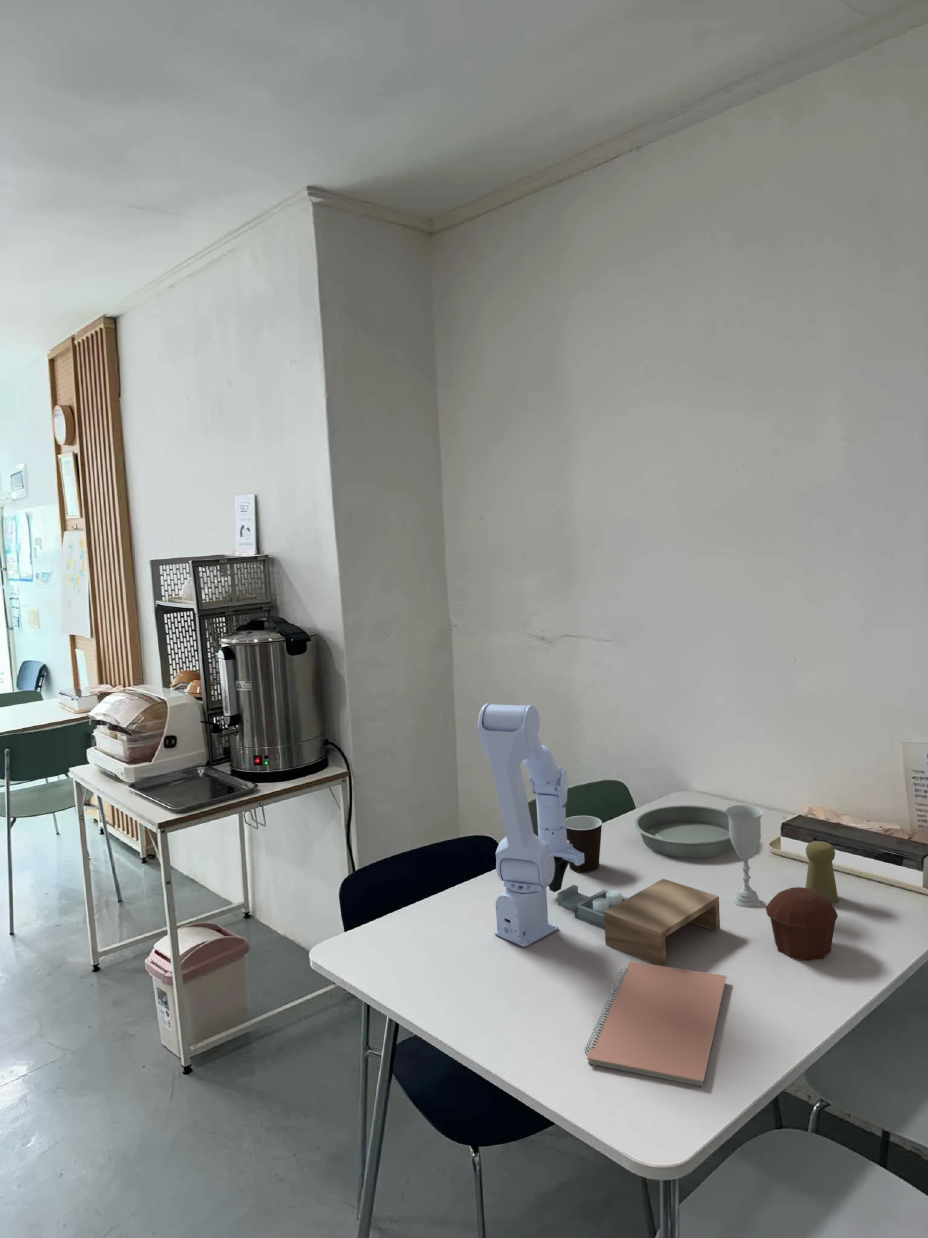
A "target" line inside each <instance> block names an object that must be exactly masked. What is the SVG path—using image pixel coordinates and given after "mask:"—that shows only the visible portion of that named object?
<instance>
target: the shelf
mask: <svg viewBox="0 0 928 1238" xmlns="http://www.w3.org/2000/svg"><path fill="white" fill-rule="evenodd" d="M604 922H605V929H604V936H605V937H604V938H605V939H604V940H605V941H604V942H605V945H606V946H607V947H611V948H612V949H615V950H618V951H620V952H623V953H625V954H627V955H630V956H632V957H635V958H637V959H640V960H642V961H645V962H646V963H650V964H651V965H658V966H665V967H667V949H666V948H667V946H666V943H667V942H666V937H667V936H669V935H671V934H673V933H674V932H675V931H677V930H678V929H680V928H681V927H684V926H685V925H687V924H688V923H692V924H695V925H697V926H701V927H704V928H706V929H708V930H709V929H710V930H712V931H715V932H717V931H719V930H720V929H721V917H720V896H719V895H716V894H714V893H713V894H712V893H710V892H706V891H705V890H704V891H703V890H701V889H697V888H694V887H690V886H687V885H685V884H683V883H682V884H681V883H679V882H675V881H672V880H668V879H666V878H661V879H660V880H658V881H656V882H654V883H653V884H651V885H649V886H647V887H646V888H644V889H642V890H640V891H638V892H636V893H635V894H633V895H631V896H629V897H627V899H626V900H624V901H622V902H620V903H619V904H617V905H615V906H613V907H611V908H610V909H608V910H606V911H604Z"/></svg>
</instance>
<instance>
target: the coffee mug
mask: <svg viewBox="0 0 928 1238" xmlns="http://www.w3.org/2000/svg"><path fill="white" fill-rule="evenodd" d="M602 826H603V821H602V819H600V818H598V817H595V816H592V815H575V816H570V817H566V830H567V841H569V845H570V846H571V847H573V848H574V849H576V850H577V851H579V852H581V853H584V863H583V864H581V865H579V866H577V865H575V864H574V862H571V861H570V862H569V864H568V866H569V869H570V870H571V871H573V872H576V873H585V874H586V873H592V872H595V871H597V870H598V869H599V867H600V856H601V843H602V842H601V839H602Z"/></svg>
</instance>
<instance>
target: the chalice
mask: <svg viewBox="0 0 928 1238" xmlns="http://www.w3.org/2000/svg"><path fill="white" fill-rule="evenodd" d="M725 811H726V813H727V815H728V817H729V836H730V839H731V842H732V845H733V847H734V849H733V850H735V852H736V854H737V856H738V857H739V858H740V859H742V862H743V864H742V867H741V869H742V871H743V874H742V875H741V878H742V880H743V885H742V886H741V887H739V888H738V889H737V890H736V893H735V895H734V897H733V903H734V904H736V905H738V906H740V907H743V908H754V907H758V906H759V905H761V900H760V898H759V895H758V894H757V893H758V892H757V891H756V890H755V888H753V887H751V886H750V883H749V882H750V880H751V875H750V874H749V872H750V870H751V867H750V866H749V859H752V858H754V855H755V854H756V852H757V850H758V847H759V844H760V842H761V839H762V836H761V835H762V834H761V833H762V830H761V827H762V825H761V823H762V822H761V818H762V816H763V814H764V812H763V810H762V809H761V808H759V807H756V806H753V805H745V804H740V805H739V804H738V805H737V804H735V805H732V806H729V807H727V808H726V809H725Z"/></svg>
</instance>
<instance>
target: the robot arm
mask: <svg viewBox="0 0 928 1238" xmlns="http://www.w3.org/2000/svg"><path fill="white" fill-rule="evenodd" d="M539 713H540V712H539V711H538V709H537V707H536V706H535V705H534V704H528V705H520V704H519V705H517V704H516V705H515V704H494V703H493V704H492V703H491V702H490V703H489V702H487V703H484V705H483V706H482V707H481V709H480V710H479V713H478V718H477V719H478V720H477V726H476V727H477V733H478V737H479V742H480V745H481V749H482V750H481V751H482V753H483V755H485V757H486V758H488V759H489V762H490V763H489V764H490V769H491V772H492V777H493V783H494V786H495V792H496V796H497V801H498V804H499V806H498V807H499V809H500V813H501V819H502V823H503V828H504V833H505V837H503V838H502V839H501V841H500V842H499V843H498V845H497V848H496V851H495V858H496V859H495V860H496V861H495V862H496V863H495V864H496V865H495V871H496V874H497V876H498V879H499V880H500V881H501V882H503V886H504V887H503V888H506V889H504V891H503V893H501V894H500V895H499V896H498V897H497V899H496V900H495V917H496V929H495V930H494V932H493V933H494V935H495V936H496V935H497V936H498V937H500V938H503V939H505V940H507V941H508V942H509V941H510V942H512V943H514V944H516V945H518V946H521V947H523V948H526V947H529V946H530V945H531V944H533V943H535V942H537V941H539V940H540V939H542V938H544V937H546V936H548V935H549V934H552V933H553V932H556V931H558V929H559V926H558V924H554V923H553V922H549V913H548V912H549V909H548V898H547V897H548V896H547V895H548V894H547V887H548V888H549V891H550V892H553V893H556V892H559V891H561V890H562V885H563V880H564V876H565V873H566V870H567V868H568V866H569V862H570V861H571V862H574V864H575V865H577V866H579V865H581V864H583V863H584V853H581V852H579V851H577V850H576V849H574V848H573V847H571V846H570V845H569V841H567V830H566V819H567V815H566V803H567V801H568V789H569V775H568V772H567V770H565V769H564V768H563V767H561V766H558V763H557V761H556V760H555V758H554V756H553V754H552V752H551V750H550V749H549V747H547V746H546V745H543V744H542V743H541V741H540V739H539V738H540V737H539V731H540V723H541V721H540V719H541V718H540V714H539ZM521 762H522V764H523V766H524V768H525V769H526V772H527V773H528V775H529V777H528V780H529V785H530V790H531V793H532V794H534V795H535V800H536V801H535V802H536V815H537V817H536V818H537V833H538V834H537V835H536V834H535V832H534V827H533V823H532V822H533V821H532V819H531V813H530V808H529V802H528V799H527V798H528V797H527V793H526V787H525V784H524V778H523V774H522V773H523V772H522V768H521Z"/></svg>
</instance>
